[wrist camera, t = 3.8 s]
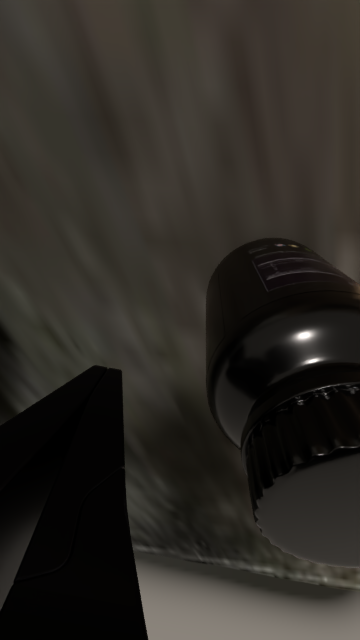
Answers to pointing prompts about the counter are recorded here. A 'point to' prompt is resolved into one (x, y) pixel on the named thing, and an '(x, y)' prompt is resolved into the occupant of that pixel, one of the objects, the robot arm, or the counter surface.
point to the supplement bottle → (290, 393)
